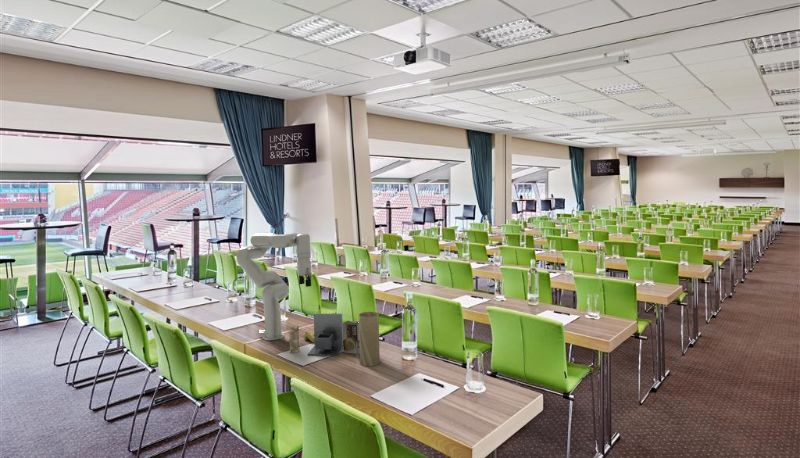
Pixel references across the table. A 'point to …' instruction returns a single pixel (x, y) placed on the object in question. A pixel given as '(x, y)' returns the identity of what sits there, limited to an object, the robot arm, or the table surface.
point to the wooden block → (294, 338)
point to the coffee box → (351, 337)
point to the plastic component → (309, 336)
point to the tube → (369, 338)
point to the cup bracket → (327, 334)
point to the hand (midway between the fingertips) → (305, 285)
